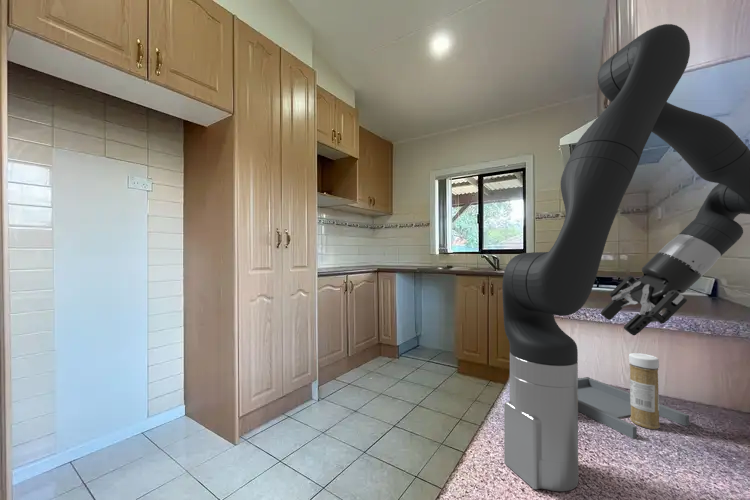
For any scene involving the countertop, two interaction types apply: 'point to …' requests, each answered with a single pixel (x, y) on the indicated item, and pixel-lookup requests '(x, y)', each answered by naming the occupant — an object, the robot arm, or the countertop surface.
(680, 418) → the grey open-ended tray
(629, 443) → the countertop surface
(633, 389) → the sprinkles bottle
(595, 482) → the countertop surface
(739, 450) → the countertop surface
